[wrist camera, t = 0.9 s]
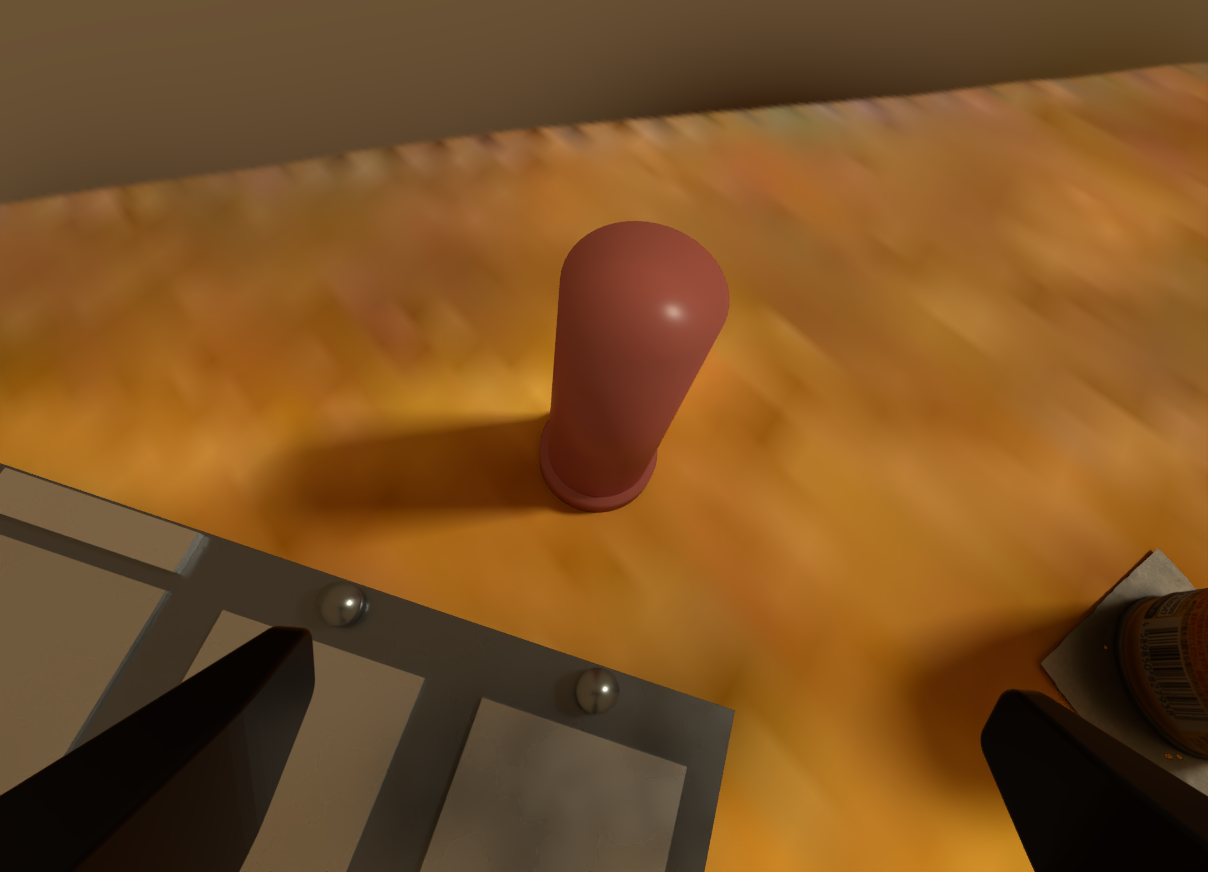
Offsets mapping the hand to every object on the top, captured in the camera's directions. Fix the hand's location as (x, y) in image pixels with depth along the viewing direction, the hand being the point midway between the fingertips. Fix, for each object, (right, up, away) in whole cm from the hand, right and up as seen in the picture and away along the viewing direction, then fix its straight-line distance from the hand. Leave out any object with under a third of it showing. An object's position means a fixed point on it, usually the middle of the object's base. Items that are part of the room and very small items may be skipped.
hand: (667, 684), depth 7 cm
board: (-11, -6, +11) cm, 17 cm away
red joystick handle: (-1, +2, +16) cm, 16 cm away
